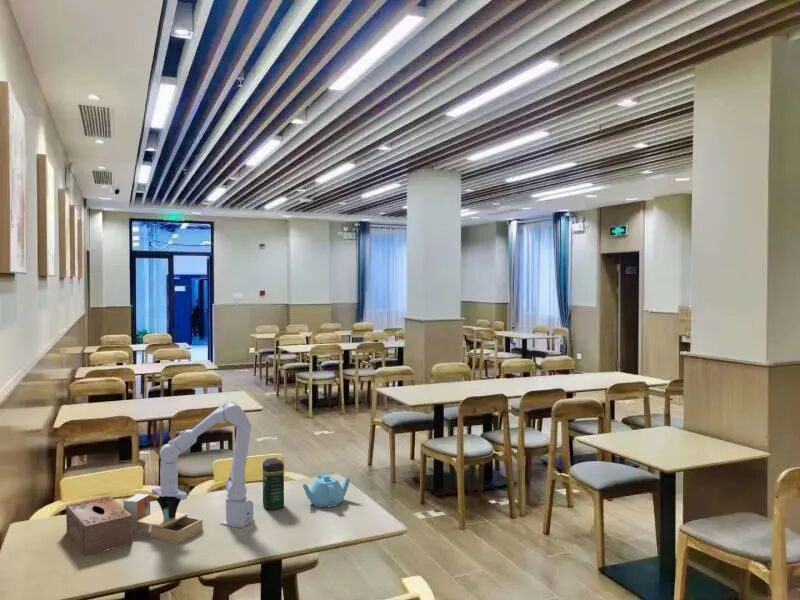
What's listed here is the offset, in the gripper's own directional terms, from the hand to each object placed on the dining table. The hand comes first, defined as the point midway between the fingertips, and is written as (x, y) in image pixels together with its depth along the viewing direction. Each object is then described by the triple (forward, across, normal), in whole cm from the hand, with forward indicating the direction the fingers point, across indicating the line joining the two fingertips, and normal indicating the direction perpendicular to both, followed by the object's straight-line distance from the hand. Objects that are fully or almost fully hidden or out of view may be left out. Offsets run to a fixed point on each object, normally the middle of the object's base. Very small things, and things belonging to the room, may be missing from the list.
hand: (169, 516), depth 211 cm
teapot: (+6, +36, +48) cm, 60 cm away
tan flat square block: (+1, -4, 0) cm, 4 cm away
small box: (+6, -16, 0) cm, 17 cm away
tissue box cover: (+6, -20, -13) cm, 24 cm away
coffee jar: (+6, +18, +36) cm, 41 cm away
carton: (+6, +4, 0) cm, 7 cm away
